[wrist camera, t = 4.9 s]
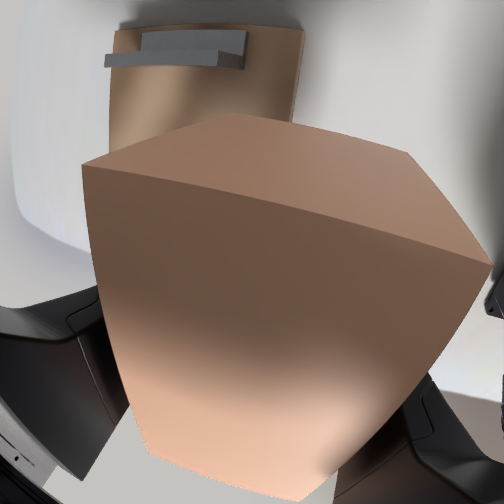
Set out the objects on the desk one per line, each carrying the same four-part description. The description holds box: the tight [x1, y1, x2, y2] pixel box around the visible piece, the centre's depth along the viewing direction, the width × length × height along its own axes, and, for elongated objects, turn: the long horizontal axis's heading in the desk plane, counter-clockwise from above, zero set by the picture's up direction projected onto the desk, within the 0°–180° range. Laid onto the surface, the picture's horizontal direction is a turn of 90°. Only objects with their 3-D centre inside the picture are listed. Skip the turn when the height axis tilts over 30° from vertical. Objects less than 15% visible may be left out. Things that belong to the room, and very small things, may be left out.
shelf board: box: [109, 24, 305, 153], centre depth 20 cm, size 13×18×1 cm
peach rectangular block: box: [82, 113, 493, 502], centre depth 8 cm, size 5×9×6 cm, turn 172°
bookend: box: [104, 30, 249, 70], centre depth 14 cm, size 7×2×4 cm, turn 83°
